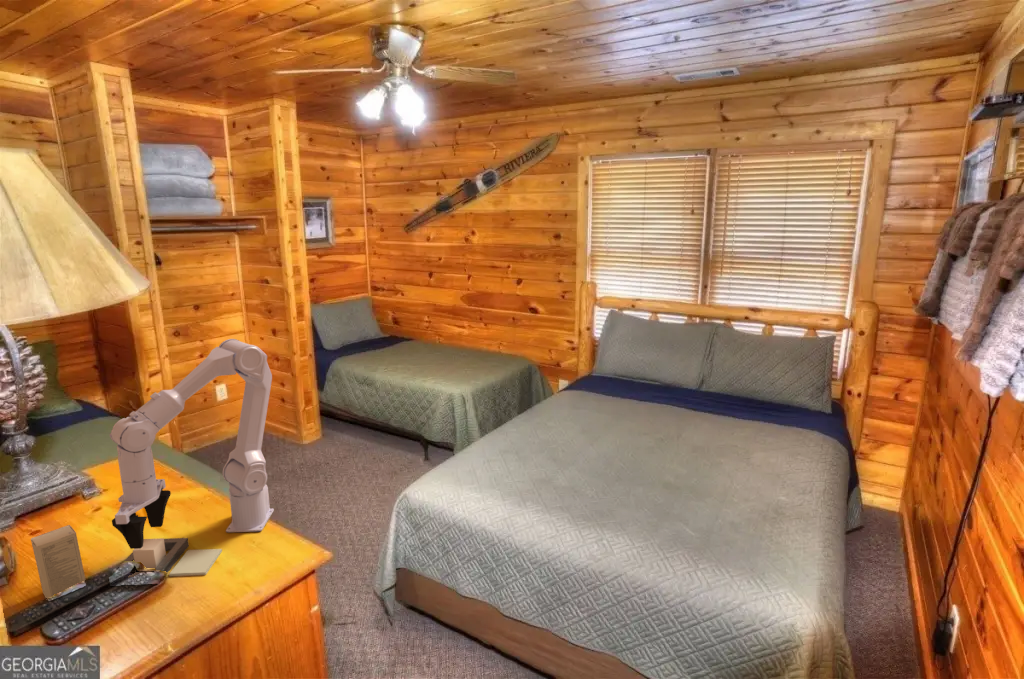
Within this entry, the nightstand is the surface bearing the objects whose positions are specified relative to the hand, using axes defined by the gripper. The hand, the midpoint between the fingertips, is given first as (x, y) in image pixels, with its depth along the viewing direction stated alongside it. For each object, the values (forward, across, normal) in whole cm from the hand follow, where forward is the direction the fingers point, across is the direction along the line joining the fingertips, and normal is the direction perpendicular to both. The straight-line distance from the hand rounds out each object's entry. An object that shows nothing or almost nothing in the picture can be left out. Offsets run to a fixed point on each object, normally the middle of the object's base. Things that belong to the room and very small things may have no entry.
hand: (146, 536), depth 114 cm
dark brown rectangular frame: (+7, 0, 0) cm, 7 cm away
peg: (+7, 0, 0) cm, 7 cm away
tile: (+7, 0, +9) cm, 11 cm away
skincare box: (+7, +7, -12) cm, 16 cm away
